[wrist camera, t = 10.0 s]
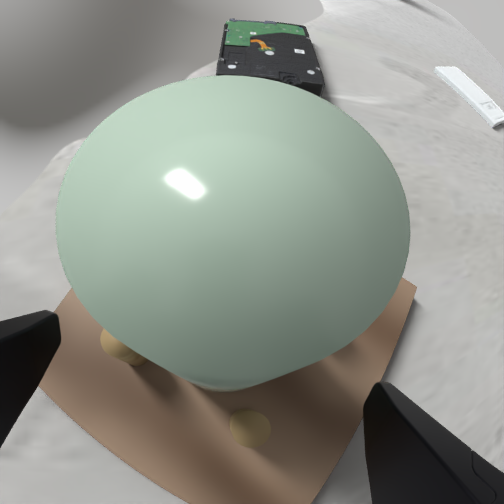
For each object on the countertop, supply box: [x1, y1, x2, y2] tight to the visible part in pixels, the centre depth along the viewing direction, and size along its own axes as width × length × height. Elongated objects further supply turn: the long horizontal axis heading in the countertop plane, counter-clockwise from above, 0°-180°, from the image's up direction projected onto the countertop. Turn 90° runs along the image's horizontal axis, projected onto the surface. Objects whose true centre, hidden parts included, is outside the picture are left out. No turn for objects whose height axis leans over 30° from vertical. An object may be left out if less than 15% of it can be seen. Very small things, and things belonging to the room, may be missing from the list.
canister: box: [56, 75, 410, 393], centre depth 11 cm, size 6×6×13 cm
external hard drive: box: [433, 67, 504, 128], centre depth 36 cm, size 2×8×12 cm
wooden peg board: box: [38, 277, 417, 504], centre depth 16 cm, size 18×18×5 cm
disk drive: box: [216, 19, 325, 98], centre depth 30 cm, size 10×3×15 cm
